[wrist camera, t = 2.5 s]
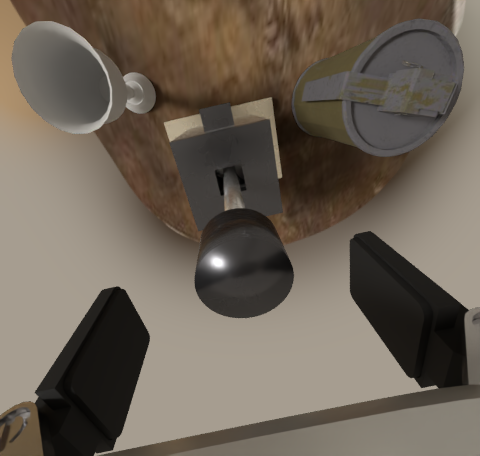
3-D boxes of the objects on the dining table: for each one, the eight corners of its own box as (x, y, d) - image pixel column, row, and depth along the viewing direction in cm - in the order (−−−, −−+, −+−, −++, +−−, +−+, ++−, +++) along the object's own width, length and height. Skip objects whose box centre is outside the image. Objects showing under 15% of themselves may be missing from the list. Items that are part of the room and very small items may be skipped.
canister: (370, 64, 35) (528, 20, 17) (346, 140, 39) (451, 169, 21) (297, 51, 33) (385, -11, 16) (282, 132, 38) (336, 154, 20)
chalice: (169, 116, 36) (127, 124, 20) (125, 126, 36) (48, 142, 20) (151, 57, 32) (83, 9, 16) (102, 69, 33) (-12, 33, 17)
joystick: (269, 93, 35) (307, 83, 20) (280, 175, 41) (316, 217, 26) (164, 118, 36) (121, 127, 20) (189, 196, 42) (170, 249, 26)
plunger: (247, 134, 28) (310, 200, 8) (256, 182, 30) (319, 317, 11) (198, 145, 28) (148, 236, 8) (211, 192, 30) (195, 343, 11)
